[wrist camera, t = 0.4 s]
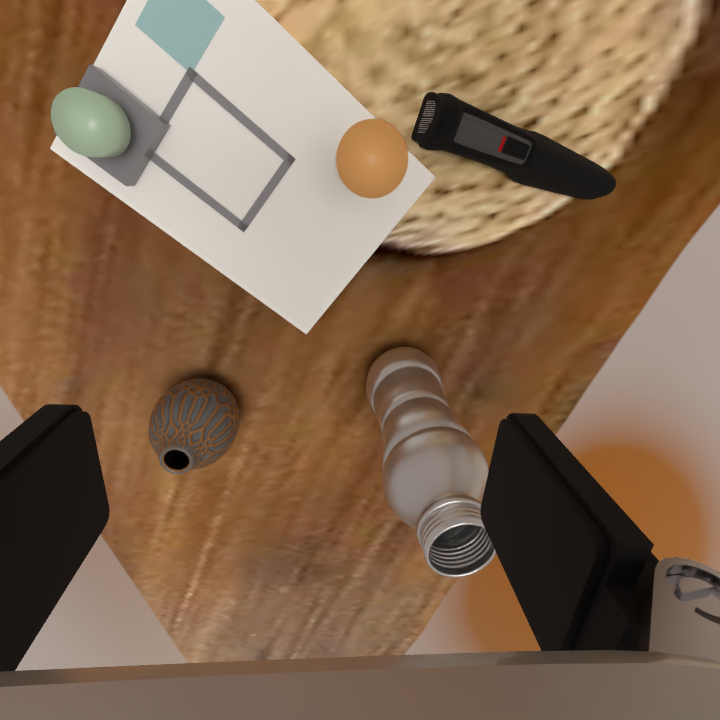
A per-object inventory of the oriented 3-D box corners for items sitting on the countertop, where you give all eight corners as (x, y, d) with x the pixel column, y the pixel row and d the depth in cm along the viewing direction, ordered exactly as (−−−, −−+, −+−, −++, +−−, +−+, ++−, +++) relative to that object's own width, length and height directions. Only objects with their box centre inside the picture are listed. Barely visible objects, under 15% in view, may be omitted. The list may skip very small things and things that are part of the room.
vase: (227, 357, 37) (199, 408, 29) (257, 421, 40) (239, 484, 32) (154, 380, 37) (106, 436, 29) (188, 441, 40) (154, 508, 32)
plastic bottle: (447, 356, 39) (556, 521, 20) (410, 414, 41) (478, 611, 22) (385, 327, 37) (443, 477, 19) (350, 389, 39) (371, 578, 21)
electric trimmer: (579, 211, 35) (602, 214, 32) (407, 144, 32) (416, 140, 29) (603, 164, 33) (629, 162, 30) (426, 89, 30) (437, 79, 27)
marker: (355, 123, 30) (368, 100, 21) (394, 160, 31) (422, 155, 22) (323, 167, 31) (321, 164, 22) (361, 201, 32) (376, 213, 23)
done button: (86, 79, 26) (68, 71, 24) (141, 122, 27) (127, 119, 25) (59, 130, 27) (40, 127, 25) (113, 170, 28) (98, 170, 26)
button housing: (101, 69, 28) (89, 63, 26) (170, 125, 29) (163, 123, 28) (67, 135, 29) (54, 133, 28) (134, 185, 31) (126, 186, 29)
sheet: (173, -78, 25) (169, -85, 25) (433, 177, 32) (435, 177, 32) (55, 148, 30) (49, 148, 29) (306, 331, 37) (306, 334, 36)
